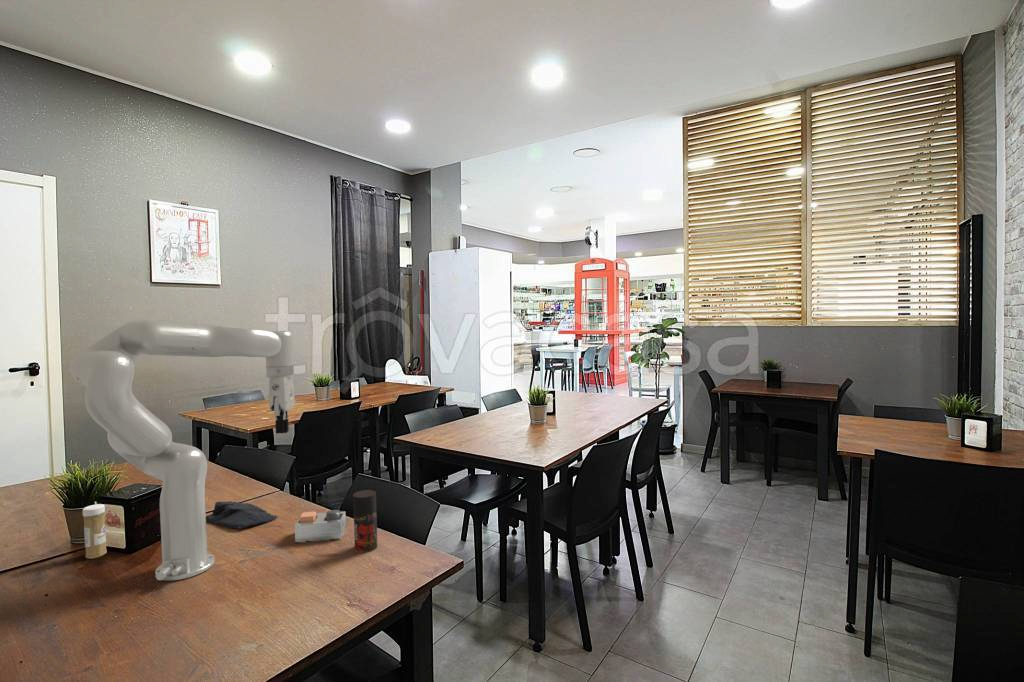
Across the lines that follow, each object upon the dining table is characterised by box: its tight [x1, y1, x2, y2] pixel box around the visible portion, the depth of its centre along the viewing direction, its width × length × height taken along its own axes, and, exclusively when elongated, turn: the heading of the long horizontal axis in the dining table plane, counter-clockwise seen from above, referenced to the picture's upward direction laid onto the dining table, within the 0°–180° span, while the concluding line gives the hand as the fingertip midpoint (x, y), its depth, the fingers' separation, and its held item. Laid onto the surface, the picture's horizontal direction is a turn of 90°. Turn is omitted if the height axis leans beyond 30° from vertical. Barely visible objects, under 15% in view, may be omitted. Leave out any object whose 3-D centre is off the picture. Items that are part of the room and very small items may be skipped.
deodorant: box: [352, 489, 378, 554], centre depth 136 cm, size 6×6×15 cm
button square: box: [299, 510, 317, 523], centre depth 144 cm, size 4×4×5 cm
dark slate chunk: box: [206, 501, 278, 530], centre depth 158 cm, size 15×22×5 cm
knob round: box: [325, 509, 341, 521], centre depth 145 cm, size 4×4×5 cm
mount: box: [294, 511, 347, 543], centre depth 144 cm, size 8×12×6 cm, turn 99°
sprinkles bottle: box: [82, 503, 108, 560], centre depth 134 cm, size 5×5×13 cm
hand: (282, 432), depth 149 cm, fingers closed
